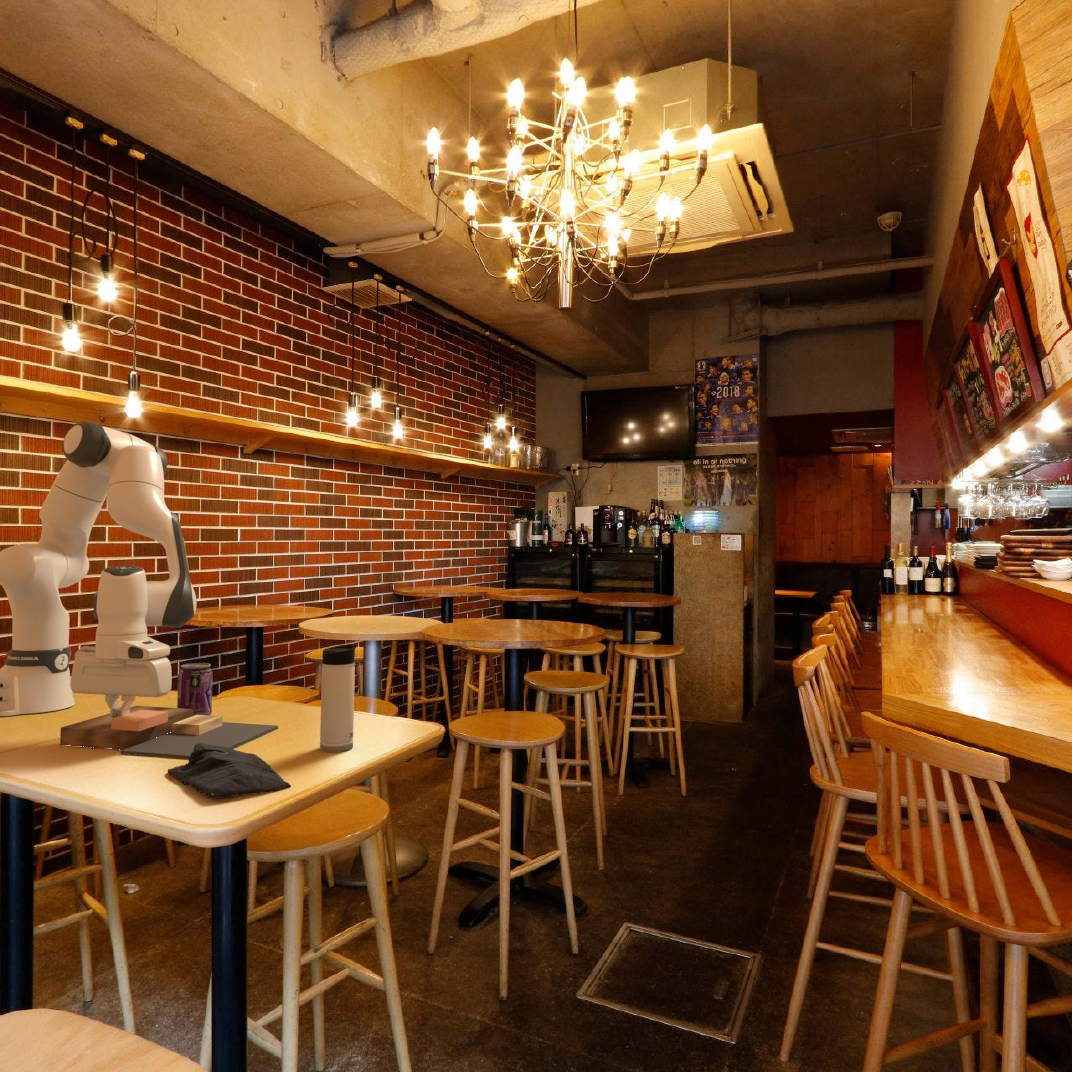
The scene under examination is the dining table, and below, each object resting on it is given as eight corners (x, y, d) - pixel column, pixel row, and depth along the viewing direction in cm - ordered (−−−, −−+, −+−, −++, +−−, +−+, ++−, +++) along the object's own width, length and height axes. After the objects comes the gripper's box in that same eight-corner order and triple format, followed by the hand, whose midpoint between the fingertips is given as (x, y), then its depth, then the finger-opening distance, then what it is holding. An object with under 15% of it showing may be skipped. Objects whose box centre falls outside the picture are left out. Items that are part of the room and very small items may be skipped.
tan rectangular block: (172, 733, 144) (172, 723, 144) (196, 724, 152) (196, 714, 152) (199, 735, 143) (199, 725, 143) (222, 725, 151) (222, 716, 151)
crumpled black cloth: (196, 811, 105) (197, 779, 105) (164, 773, 122) (164, 746, 122) (297, 791, 114) (298, 761, 114) (254, 758, 131) (255, 733, 132)
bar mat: (120, 753, 131) (120, 750, 131) (202, 723, 155) (202, 720, 155) (207, 760, 128) (207, 757, 128) (278, 728, 152) (278, 725, 152)
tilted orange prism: (111, 729, 135) (111, 718, 135) (141, 719, 143) (141, 709, 143) (138, 731, 134) (139, 720, 134) (167, 721, 142) (168, 711, 142)
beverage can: (201, 722, 156) (203, 668, 156) (170, 721, 156) (172, 667, 157) (217, 714, 163) (218, 663, 163) (186, 714, 163) (188, 662, 164)
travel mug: (360, 748, 138) (362, 646, 138) (329, 754, 133) (332, 648, 134) (344, 741, 142) (346, 642, 143) (314, 747, 138) (316, 645, 138)
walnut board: (60, 745, 136) (60, 727, 136) (135, 721, 156) (136, 705, 156) (123, 750, 133) (124, 732, 134) (192, 725, 153) (193, 709, 153)
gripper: (63, 647, 138) (61, 718, 138) (155, 651, 135) (153, 723, 134) (88, 643, 145) (86, 711, 144) (177, 647, 141) (176, 716, 141)
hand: (119, 717), depth 139 cm, fingers closed
